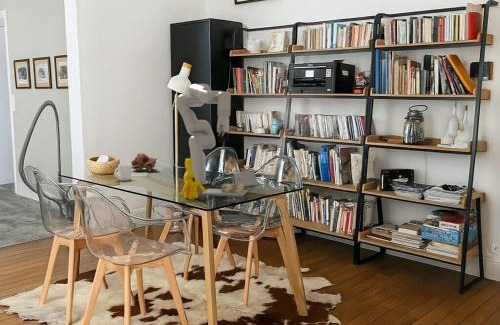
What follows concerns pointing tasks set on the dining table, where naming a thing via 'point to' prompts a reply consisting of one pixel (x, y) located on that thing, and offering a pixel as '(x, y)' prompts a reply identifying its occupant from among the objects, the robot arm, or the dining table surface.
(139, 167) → the mineral specimen
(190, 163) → the figure statuette
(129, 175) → the mug
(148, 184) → the dining table surface
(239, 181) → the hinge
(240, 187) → the oak panel
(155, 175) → the dining table surface
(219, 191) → the white flat slab
